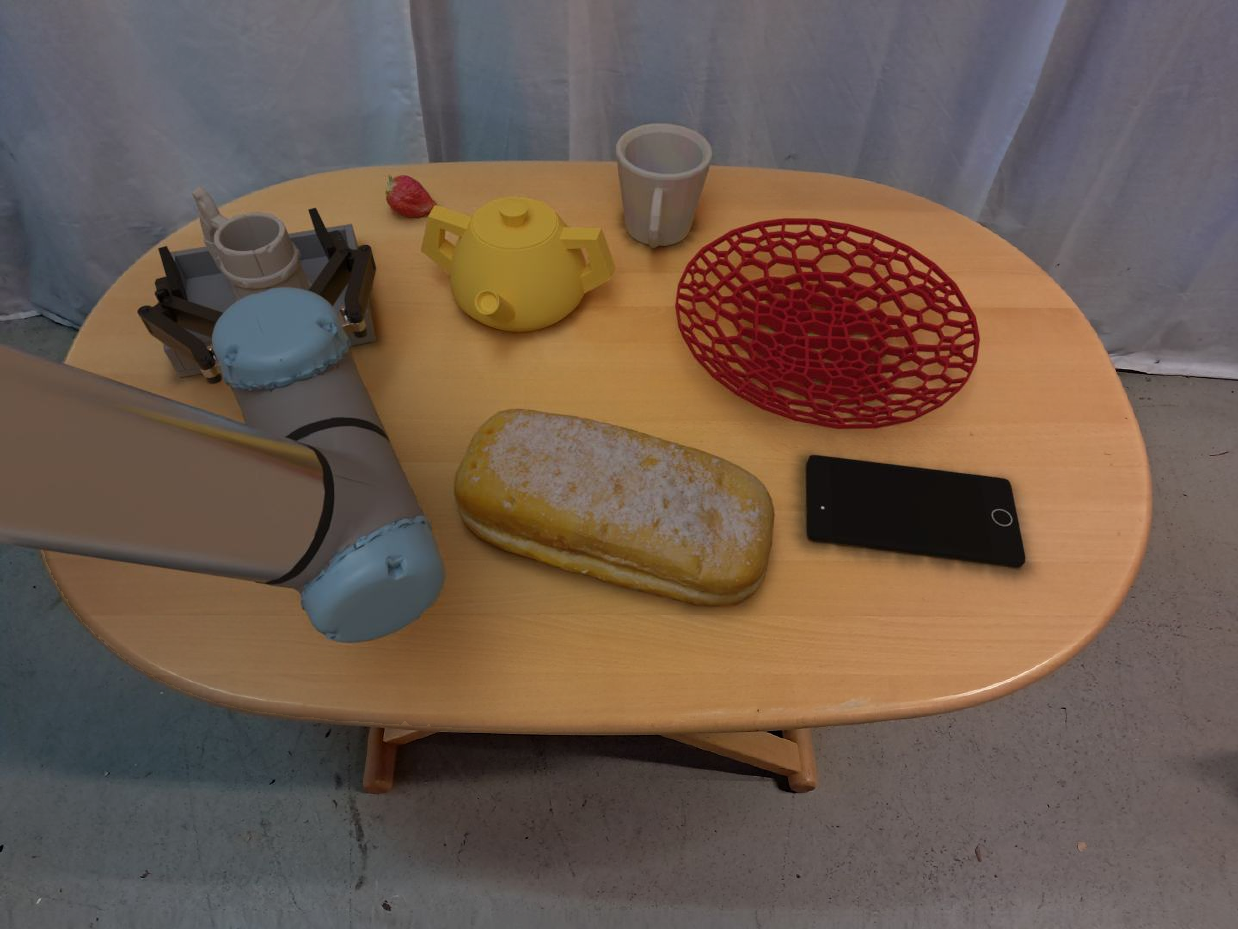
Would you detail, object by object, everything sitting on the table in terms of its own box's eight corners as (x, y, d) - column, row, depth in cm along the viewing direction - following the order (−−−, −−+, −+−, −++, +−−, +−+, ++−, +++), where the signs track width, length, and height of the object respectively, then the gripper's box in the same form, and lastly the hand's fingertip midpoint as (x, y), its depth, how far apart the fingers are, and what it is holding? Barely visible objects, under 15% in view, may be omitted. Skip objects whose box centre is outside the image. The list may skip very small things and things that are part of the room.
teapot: (396, 355, 80) (372, 266, 71) (449, 241, 91) (434, 152, 82) (594, 382, 78) (595, 295, 69) (623, 263, 89) (627, 175, 80)
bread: (491, 434, 74) (482, 374, 68) (776, 495, 71) (795, 439, 64) (437, 555, 66) (421, 500, 60) (755, 631, 63) (773, 581, 56)
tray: (180, 378, 77) (163, 349, 74) (181, 281, 85) (166, 252, 82) (376, 341, 81) (368, 313, 78) (359, 252, 89) (351, 223, 86)
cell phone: (1022, 569, 67) (1027, 564, 66) (806, 541, 68) (808, 535, 67) (1006, 484, 72) (1010, 478, 71) (805, 459, 73) (808, 453, 72)
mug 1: (279, 350, 78) (236, 250, 69) (198, 302, 82) (147, 201, 73) (336, 307, 82) (303, 207, 73) (257, 263, 86) (216, 163, 77)
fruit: (432, 226, 92) (425, 188, 88) (382, 220, 92) (372, 182, 89) (442, 204, 95) (436, 166, 91) (393, 199, 95) (384, 161, 91)
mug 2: (704, 204, 96) (715, 126, 88) (697, 285, 87) (708, 207, 79) (618, 195, 97) (621, 117, 89) (602, 276, 88) (603, 196, 80)
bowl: (991, 469, 73) (1015, 434, 69) (670, 452, 73) (675, 416, 69) (929, 262, 91) (945, 224, 87) (671, 248, 91) (675, 210, 87)
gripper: (158, 470, 64) (121, 307, 75) (453, 370, 72) (380, 236, 83) (114, 408, 58) (81, 242, 69) (441, 307, 66) (364, 171, 77)
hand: (244, 238), depth 76 cm, fingers open, 13 cm apart
